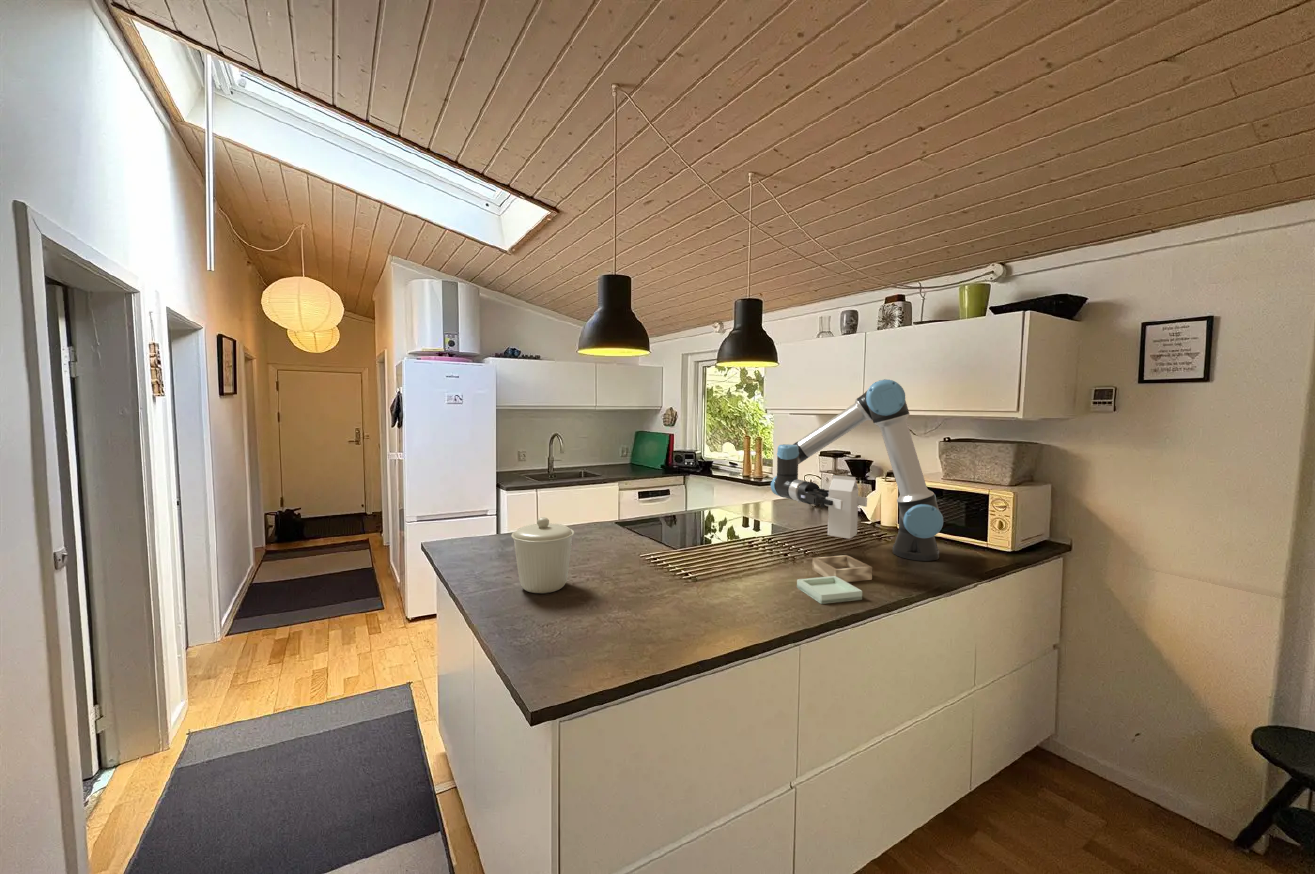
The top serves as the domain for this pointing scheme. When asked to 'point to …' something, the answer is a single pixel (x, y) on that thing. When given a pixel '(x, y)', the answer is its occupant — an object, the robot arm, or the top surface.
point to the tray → (829, 589)
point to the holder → (851, 566)
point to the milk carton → (845, 518)
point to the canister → (543, 555)
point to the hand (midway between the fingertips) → (854, 503)
